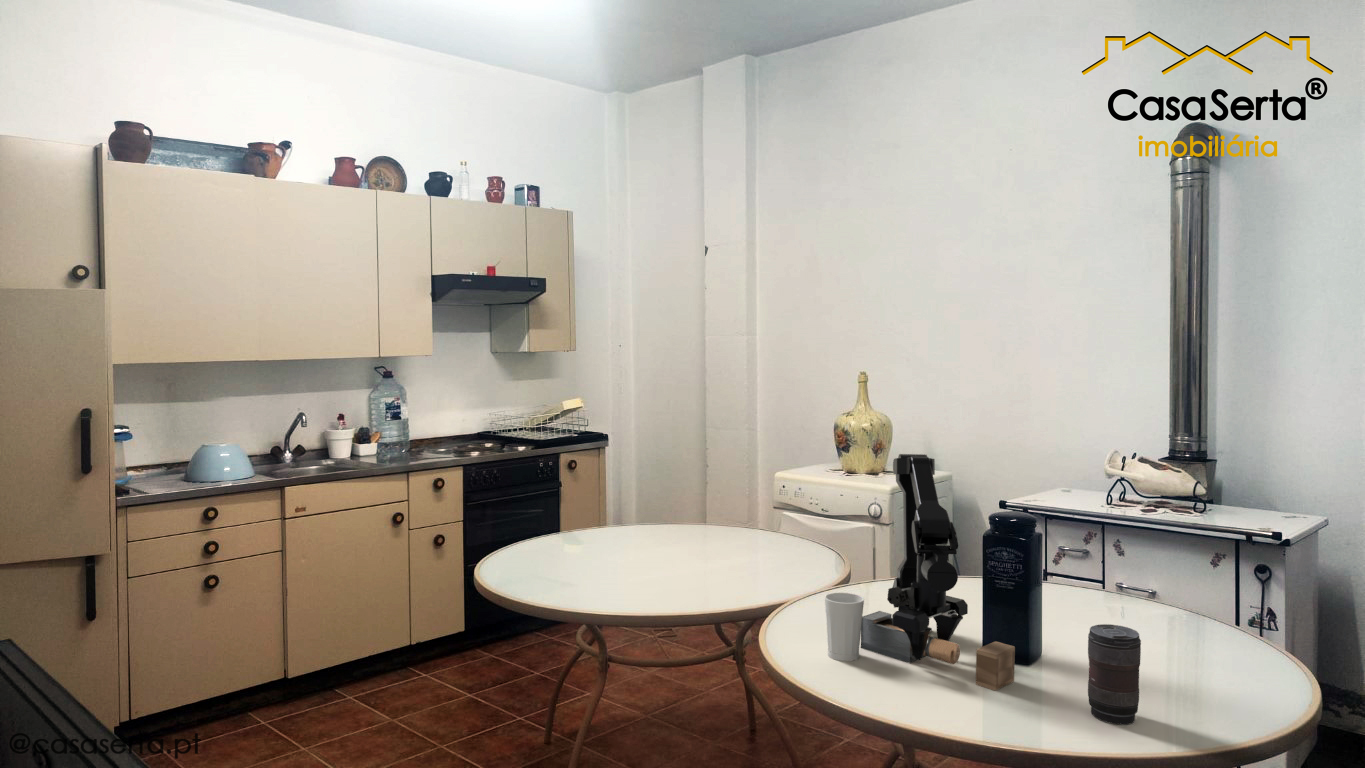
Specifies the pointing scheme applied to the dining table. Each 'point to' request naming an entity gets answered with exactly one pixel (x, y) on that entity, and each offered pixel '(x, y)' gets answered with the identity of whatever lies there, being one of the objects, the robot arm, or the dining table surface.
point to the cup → (843, 625)
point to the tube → (937, 648)
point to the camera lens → (1113, 673)
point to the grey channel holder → (885, 638)
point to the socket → (995, 665)
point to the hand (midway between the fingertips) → (929, 654)
